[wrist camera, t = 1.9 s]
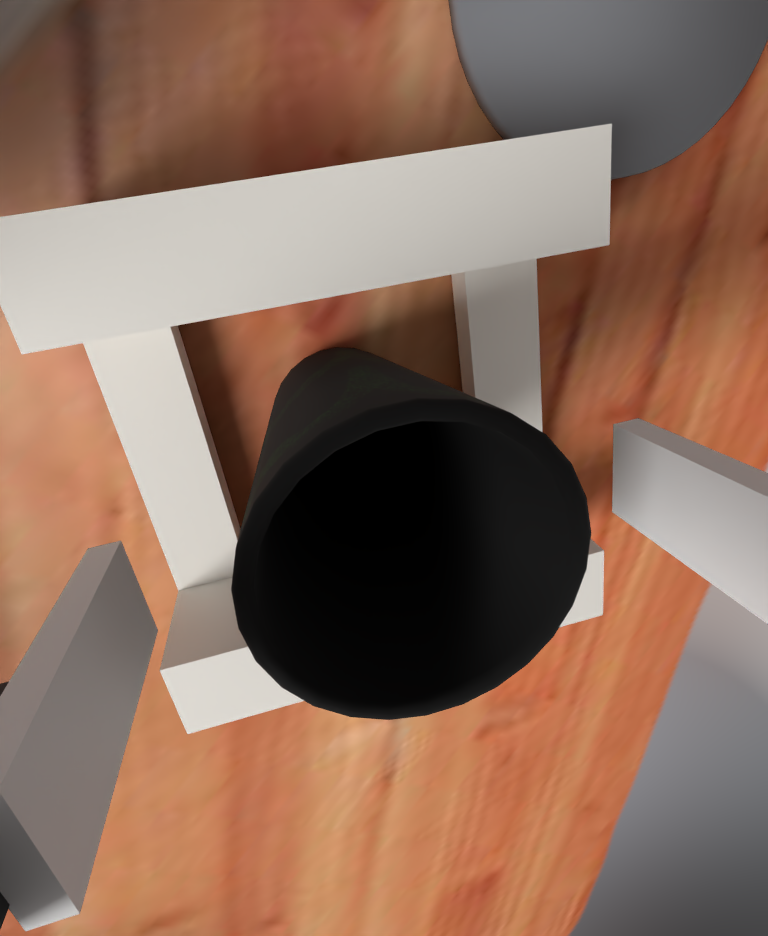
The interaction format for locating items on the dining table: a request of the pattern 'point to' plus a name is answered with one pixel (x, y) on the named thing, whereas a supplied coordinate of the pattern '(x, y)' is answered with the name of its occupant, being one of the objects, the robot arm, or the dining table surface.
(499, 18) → the felt pad
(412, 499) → the cup
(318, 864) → the dining table surface
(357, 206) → the block
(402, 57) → the dining table surface
